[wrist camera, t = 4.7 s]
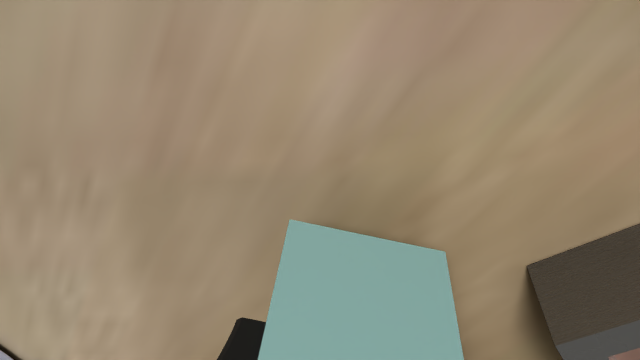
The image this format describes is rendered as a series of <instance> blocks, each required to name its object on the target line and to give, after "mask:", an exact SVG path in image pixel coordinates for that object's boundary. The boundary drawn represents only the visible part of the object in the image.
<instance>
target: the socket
mask: <svg viewBox="0 0 640 360" xmlns="http://www.w3.org/2000/svg"><path fill="white" fill-rule="evenodd" d="M527 268H528V271H529V274H530V277H531V280H532V282H533V285H534V288H535V291H536V294H537V297H538V299H539V302H540V305H541V308H542V311H543V314H544V316H545V319H546V322H547V325H548V328H549V330H550V333H551V336H552V339H553V342H554V345H555V347H556V348H557V350H558V352H559V353H560V355H561V356H562V358H563V360H640V224H638V225H635V226H633V227H630V228H627V229H625V230H622V231H619V232H616V233H614V234H611V235H608V236H606V237H603V238H600V239H598V240H595V241H592V242H590V243H587V244H584V245H582V246H579V247H576V248H574V249H571V250H568V251H566V252H563V253H560V254H557V255H555V256H552V257H549V258H547V259H544V260H541V261H539V262H536V263H533V264H531V265H528V266H527Z"/></svg>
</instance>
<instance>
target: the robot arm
mask: <svg viewBox="0 0 640 360" xmlns="http://www.w3.org/2000/svg"><path fill="white" fill-rule="evenodd" d="M265 326H266V322H262V321H257V320H252V319H247V318H240V319H238V320H236V323H235V325H234V328H233V330H232V332H231V334H230V336H229V338H228V341H227V342H226V344H225V346H224V348H223V350H222V352H221V353H220V355H219V357H218V359H217V360H258V356H259V352H260V348H261V343H262V339H263V334H264V330H265ZM0 360H14V359H12V358H11V357H9V356H8V355H7V354H5V353H4V352H2V351H1V350H0Z"/></svg>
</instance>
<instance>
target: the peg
mask: <svg viewBox="0 0 640 360" xmlns="http://www.w3.org/2000/svg"><path fill="white" fill-rule="evenodd" d="M258 360H464V358H463V352H462V346H461V341H460V335H459V329H458V323H457V317H456V312H455V306H454V300H453V294H452V288H451V283H450V277H449V271H448V265H447V259H446V254H445V252H444V251H439V250H434V249H429V248H425V247H420V246H415V245H410V244H405V243H401V242H396V241H391V240H386V239H381V238H377V237H372V236H367V235H362V234H358V233H353V232H348V231H343V230H338V229H334V228H329V227H324V226H319V225H314V224H310V223H305V222H300V221H295V220H289V225H288V229H287V233H286V238H285V242H284V247H283V251H282V255H281V260H280V264H279V269H278V273H277V277H276V282H275V286H274V290H273V295H272V299H271V304H270V308H269V312H268V317H267V321H266V326H265V330H264V334H263V339H262V343H261V348H260V352H259V356H258Z"/></svg>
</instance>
